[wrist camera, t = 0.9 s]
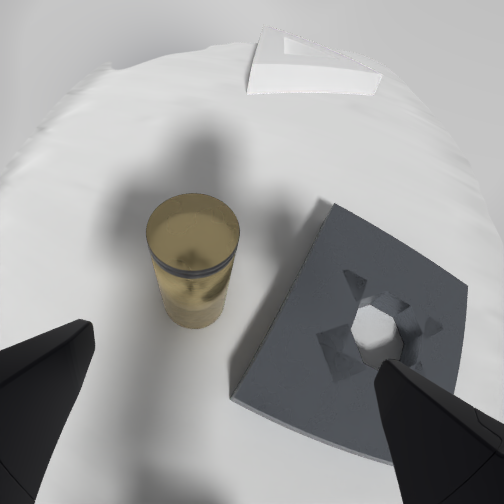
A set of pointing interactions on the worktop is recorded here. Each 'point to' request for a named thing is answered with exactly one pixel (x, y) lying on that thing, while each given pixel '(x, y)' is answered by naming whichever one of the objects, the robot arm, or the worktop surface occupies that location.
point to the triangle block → (306, 68)
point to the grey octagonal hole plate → (341, 338)
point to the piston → (193, 256)
